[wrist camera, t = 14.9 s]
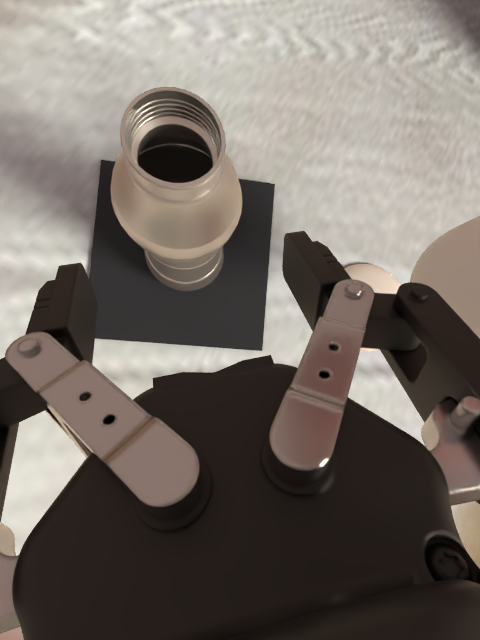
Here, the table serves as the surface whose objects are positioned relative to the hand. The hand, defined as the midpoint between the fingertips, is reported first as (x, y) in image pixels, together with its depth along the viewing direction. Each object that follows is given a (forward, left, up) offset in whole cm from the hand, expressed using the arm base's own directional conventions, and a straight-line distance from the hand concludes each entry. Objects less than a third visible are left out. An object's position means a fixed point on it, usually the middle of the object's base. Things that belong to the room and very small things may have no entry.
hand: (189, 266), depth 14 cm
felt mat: (-4, -1, -18) cm, 19 cm away
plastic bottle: (-4, -1, -18) cm, 19 cm away
